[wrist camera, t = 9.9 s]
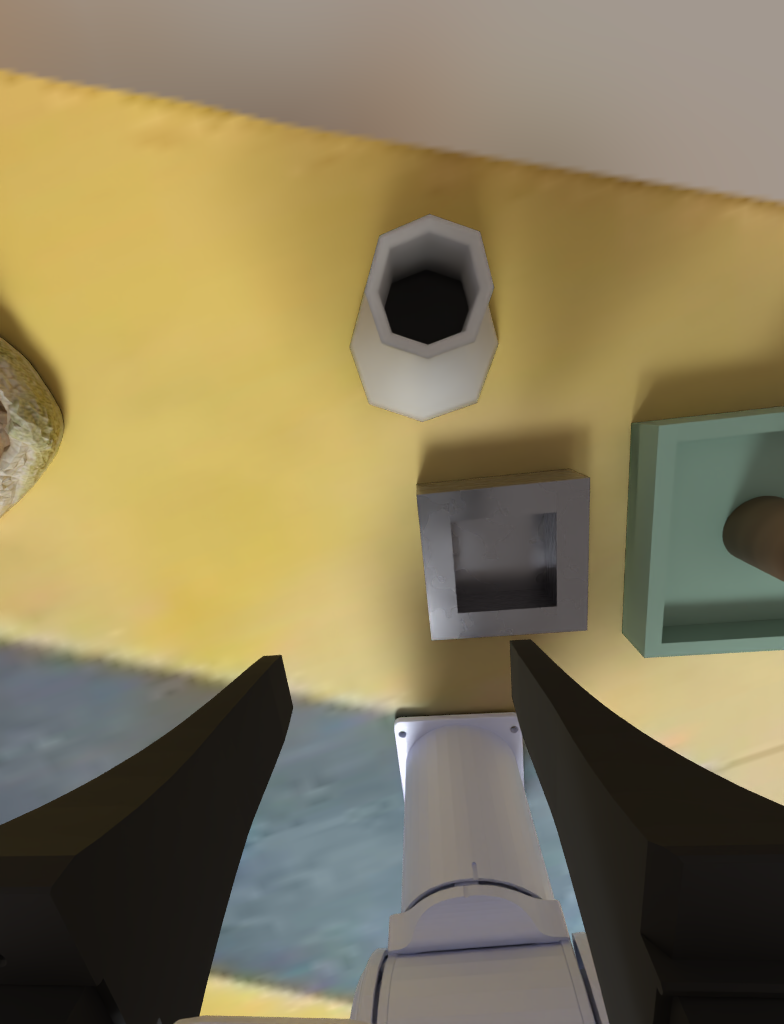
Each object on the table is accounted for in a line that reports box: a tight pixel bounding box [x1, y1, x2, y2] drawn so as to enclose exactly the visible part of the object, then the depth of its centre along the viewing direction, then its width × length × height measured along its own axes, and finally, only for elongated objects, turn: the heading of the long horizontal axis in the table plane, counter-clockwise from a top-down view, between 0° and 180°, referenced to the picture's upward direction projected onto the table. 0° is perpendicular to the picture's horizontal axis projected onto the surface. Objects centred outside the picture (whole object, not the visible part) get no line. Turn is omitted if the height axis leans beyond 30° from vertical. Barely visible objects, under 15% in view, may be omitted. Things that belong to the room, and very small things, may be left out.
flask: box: [350, 214, 498, 422], centre depth 14 cm, size 7×7×10 cm
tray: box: [622, 406, 784, 658], centre depth 19 cm, size 12×12×2 cm
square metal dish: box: [417, 469, 590, 640], centre depth 20 cm, size 8×8×2 cm
